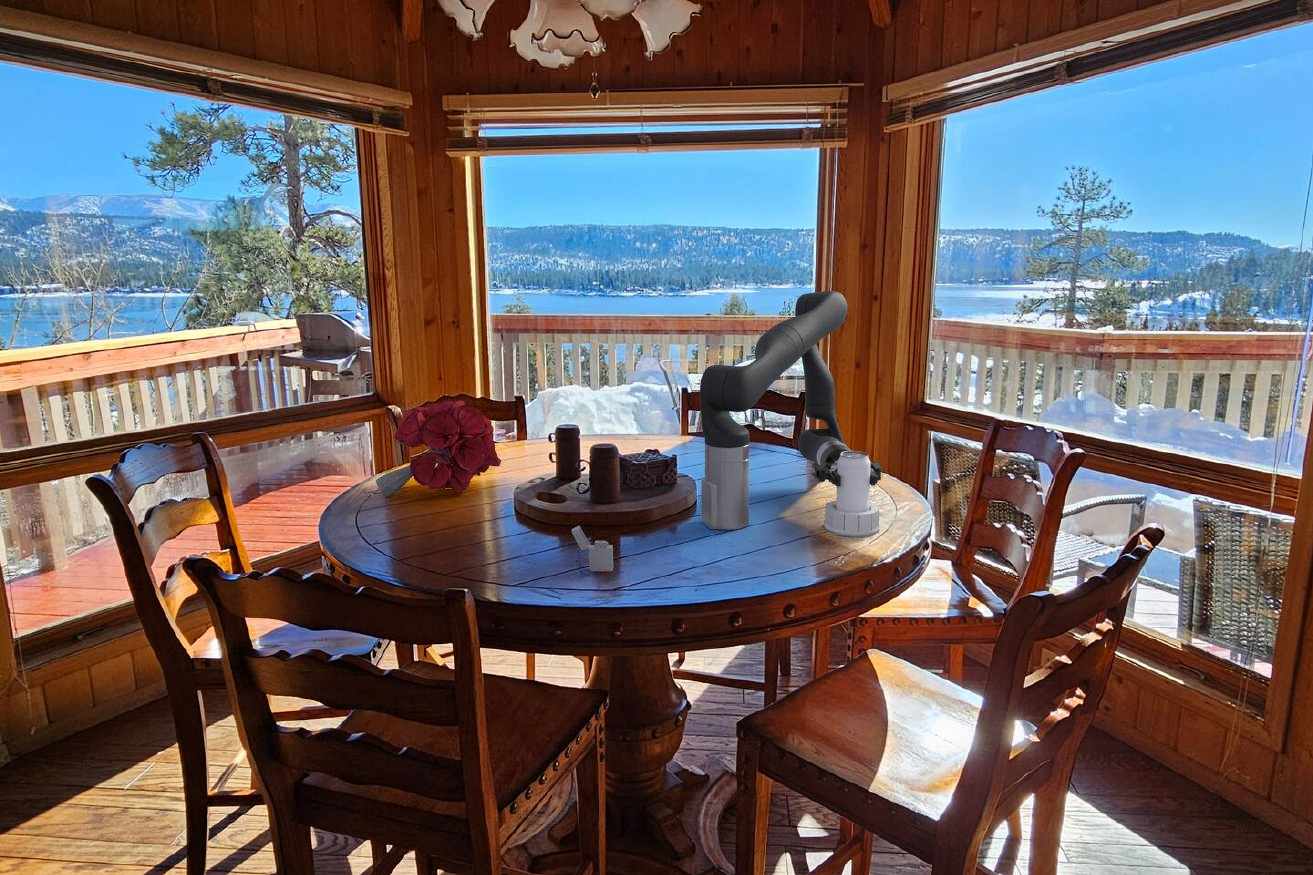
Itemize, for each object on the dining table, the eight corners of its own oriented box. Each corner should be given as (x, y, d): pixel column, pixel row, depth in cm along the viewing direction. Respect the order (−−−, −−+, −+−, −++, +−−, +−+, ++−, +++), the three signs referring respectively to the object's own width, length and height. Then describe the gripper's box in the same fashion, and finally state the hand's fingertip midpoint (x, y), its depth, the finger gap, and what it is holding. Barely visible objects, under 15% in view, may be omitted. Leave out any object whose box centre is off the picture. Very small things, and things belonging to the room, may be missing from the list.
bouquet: (402, 538, 183) (514, 467, 185) (341, 452, 178) (456, 381, 180) (414, 516, 204) (514, 453, 206) (360, 439, 199) (463, 376, 201)
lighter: (613, 567, 144) (612, 525, 142) (612, 571, 142) (611, 528, 140) (574, 567, 144) (572, 525, 142) (572, 571, 142) (571, 528, 141)
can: (832, 513, 162) (833, 456, 159) (840, 504, 167) (842, 449, 164) (864, 517, 159) (866, 459, 156) (872, 508, 164) (874, 452, 161)
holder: (840, 539, 157) (841, 517, 156) (814, 522, 167) (815, 502, 166) (889, 533, 160) (890, 512, 159) (861, 517, 170) (862, 497, 169)
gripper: (804, 444, 174) (821, 464, 158) (870, 443, 175) (893, 462, 158) (803, 477, 176) (820, 500, 160) (868, 476, 176) (891, 498, 160)
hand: (856, 481), depth 159 cm, fingers closed on can, 6 cm apart
